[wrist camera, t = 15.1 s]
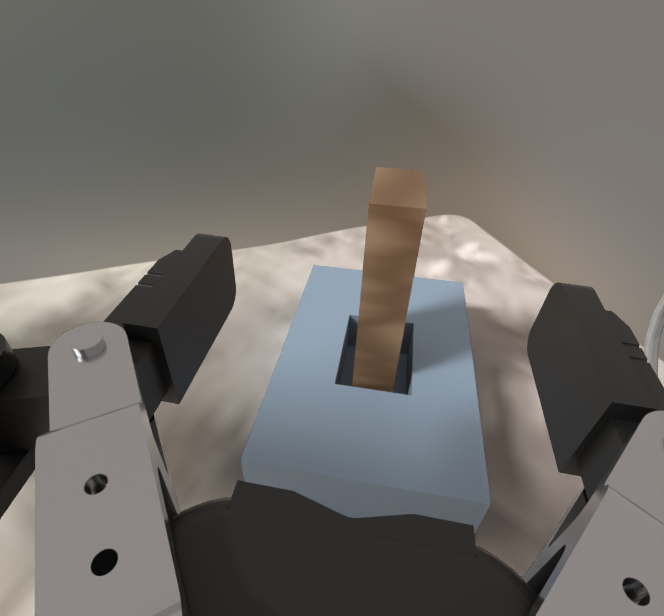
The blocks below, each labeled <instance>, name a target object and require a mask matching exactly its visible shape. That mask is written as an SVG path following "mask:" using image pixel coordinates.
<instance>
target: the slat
mask: <svg viewBox="0 0 664 616" xmlns="http://www.w3.org/2000/svg"><path fill="white" fill-rule="evenodd" d="M425 213H426V191H425V172H424V171H417V170H406V169H394V168H382V167H376V172H375V177H374V181H373V186H372V191H371V196H370V201H369V208H368V219H367V230H366V241H365V251H364V262H363V273H362V284H361V295H360V306H359V317H358V328H357V339H356V349H355V360H354V371H353V382H352V387H359V388H365V389H372V390H378V391H385V392H393V387H394V382H395V376H396V371H397V365H398V360H399V354H400V349H401V344H402V338H403V333H404V327H405V322H406V316H407V311H408V306H409V300H410V295H411V289H412V284H413V278H414V273H415V267H416V262H417V257H418V251H419V246H420V240H421V235H422V229H423V224H424V219H425Z"/></svg>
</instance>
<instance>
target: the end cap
mask: <svg viewBox="0 0 664 616" xmlns="http://www.w3.org/2000/svg"><path fill="white" fill-rule="evenodd" d="M362 273H363V271H360V270H352V269H344V268H335V267H327V266H319V265H314V266H313V268H312V271H311V274H310V276H309V279H308V282H307V284H306V287H305V290H304V292H303V295H302V298H301V300H300V303H299V306H298V308H297V311H296V314H295V316H294V319H293V322H292V324H291V327H290V330H289V332H288V335H287V338H286V340H285V343H284V346H283V348H282V351H281V354H280V356H279V359H278V362H277V364H276V367H275V370H274V372H273V375H272V377H271V380H270V383H269V385H268V388H267V391H266V393H265V396H264V399H263V401H262V404H261V407H260V409H259V412H258V415H257V417H256V420H255V423H254V425H253V428H252V431H251V433H250V436H249V439H248V441H247V444H246V447H245V449H244V452H243V455H242V457H241V460H240V461H241V466H242V471H243V477H244V482H250V483H255V484H260V485H265V486H271V487H276V488H281V489H286V490H292V491H295V492H297V493H299V494H301V495H303V496H305V497H307V498H309V499H311V500H313V501H315V502H317V503H320V504H322V505H324V506H326V507H328V508H330V509H332V510H334V511H336V512H338V513H340V514H342V515H344V516H347V517H351V518H363V517H377V516H390V515H403V514H417V515H422V516H428V517H433V518H438V519H443V520H449V521H454V522H459V523H464V524H470V525H474V535H475V533H476V531H477V529H478V527H479V525H480V524H481V522H482V520H483V518H484V516H485V514H486V512H487V511H488V509H489V507H490V505H491V501H490V493H489V485H488V477H487V469H486V461H485V453H484V445H483V437H482V429H481V422H480V414H479V406H478V398H477V390H476V382H475V374H474V366H473V358H472V350H471V342H470V334H469V326H468V319H467V311H466V303H465V295H464V287H463V283H461V282H452V281H444V280H436V279H427V278H419V277H414V278H413V284H412V289H411V295H410V300H409V306H408V311H407V316H406V322H405V327H404V333H403V338H402V344H401V349H400V354H399V360H398V365H397V371H396V376H395V382H394V387H393V392H385V391H378V390H372V389H365V388H359V387H352V382H353V371H354V360H355V349H356V339H357V328H358V317H359V306H360V295H361V284H362Z"/></svg>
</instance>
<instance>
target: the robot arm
mask: <svg viewBox="0 0 664 616" xmlns="http://www.w3.org/2000/svg"><path fill="white" fill-rule="evenodd" d="M235 295H236V284H235V275H234V267H233V258H232V250H231V243H230V241H229V239H228V238H227V237H221V236H213V235H206V234H197V235H195V237H194V238H193V239H192V240H191V241H190V243H189V244H188V245H187V246H186V247H185V249H184V250H183V251H181V250H175V251H173V252H172V253H170V254H168V255H166V256H164V257H163V258H161V259H159V260H158V261H157V262H156V263H155V264H154V266H153V267H152V268H151V269H150V270H149V271H148V274H147V275H145V276H144V277H143V278H142V279H141V280H140V281H139V282H138V285H136V286H135V287H134V288H133V289H132V290H131V291H130V292H129V294H128V295H127V296H126V297H125V298H124V299H123V300H122V301H121V303H120V304H119V305H118V306H117V307H116V308H115V309H114V310H113V312H112V313H111V314H110V315H109V316H108V317H107V318H106V319H105V321H104V322H93V323H88V324H84V325H80V326H78V327H75V328H73V329H71V330H69V331H67V332H65V333H64V334H62V335H61V336H60V337H59V338H57V339H56V341H55V342H54V343H53V344H52V346H45V347H33V348H21V349H11V347H10V346H9V344H8V342H7V341H6V339H5V338H4V336H3V335H2V334H0V519H1V517H2V516H3V514H4V513H5V511H6V510H7V509H8V507H9V506H10V504H11V503H12V501H13V500H14V499H15V497H16V496H17V494H18V493H19V491H20V490H21V489H22V487H23V486H24V484H25V483H26V481H27V480H28V478H29V477H30V476H31V474H32V473H33V471H34V470H35V616H664V387H663V386H662V384H661V382H660V380H659V379H658V377H657V375H656V373H655V371H654V370H653V368H652V366H651V364H650V363H647V357H646V355H645V354H644V352H643V350H642V348H639V343H638V341H637V339H636V338H635V336H634V334H633V332H632V331H631V329H630V327H629V326H628V325H626V324H625V323H624V322H623V321H622V320H621V319H620V318H619V317H618V316H617V315H616V314H614V313H613V312H612V311H606V310H605V309H604V307H603V305H602V303H601V302H600V300H599V298H598V296H597V294H596V292H595V290H594V289H593V288H592V287H587V286H580V285H572V284H565V283H555V284H554V285H553V286H552V287H551V289H550V291H549V293H548V295H547V297H546V299H545V301H544V303H543V306H542V308H541V310H540V312H539V314H538V316H537V318H536V320H535V322H534V324H533V326H532V329H531V331H530V334H529V338H528V346H527V350H528V357H529V361H530V364H531V368H532V372H533V376H534V380H535V383H536V387H537V391H538V395H539V399H540V402H541V406H542V410H543V414H544V417H545V421H546V425H547V429H548V433H549V436H550V440H551V444H552V448H553V452H554V455H555V459H556V463H557V467H558V471H559V472H560V473H566V474H571V475H577V476H581V478H582V481H583V484H584V487H583V488H582V490H581V491H580V492H579V493H578V494H577V496H576V498H575V499H574V501H573V502H572V504H571V505H570V507H569V509H568V510H567V512H566V513H565V515H564V517H563V518H562V520H561V521H560V523H559V525H558V526H557V528H556V529H555V531H554V532H553V534H552V536H551V537H550V539H549V540H548V542H547V544H546V545H545V547H544V548H543V550H542V551H541V553H540V555H539V556H538V557H537V559H536V560H535V562H534V563H533V564H532V566H531V567H530V568H529V570H528V571H527V572H526V574H525V575H524V576H523V578H521V577H520V576H519V575H518V574H517V573H516V572H515V571H514V570H513V569H512V568H510V567H509V566H508V565H506V564H505V563H504V562H502V561H501V560H500V559H499V558H497V557H496V556H494V555H492V554H491V553H489V552H488V551H486V550H484V549H483V548H481V547H479V546H477V545H475V535H474V525H470V524H464V523H459V522H454V521H449V520H443V519H438V518H433V517H428V516H422V515H417V514H403V515H390V516H377V517H363V518H351V517H347V516H344V515H342V514H340V513H338V512H336V511H334V510H332V509H330V508H328V507H326V506H324V505H322V504H320V503H317V502H315V501H313V500H311V499H309V498H307V497H305V496H303V495H301V494H299V493H297V492H295V491H292V490H286V489H281V488H276V487H271V486H265V485H260V484H255V483H250V482H244V481H239V480H238V481H237V484H236V487H235V490H234V492H233V495H232V497H228V498H221V499H216V500H211V501H208V502H205V503H202V504H198V505H195V506H193V507H191V508H189V509H187V510H184V511H182V512H181V510H180V507H179V504H178V500H177V497H176V494H175V491H174V487H173V483H172V480H171V476H170V472H169V468H168V464H167V459H166V455H165V451H164V447H163V443H162V439H161V435H160V431H159V427H158V423H157V419H156V416H155V413H154V412H155V411H156V409H157V407H158V406H159V404H160V402H161V401H165V402H170V403H176V404H179V403H180V402H181V400H182V398H183V396H184V394H185V393H186V391H187V389H188V387H189V385H190V384H191V382H192V380H193V378H194V376H195V375H196V373H197V371H198V369H199V367H200V366H201V364H202V362H203V360H204V358H205V357H206V355H207V353H208V351H209V349H210V348H211V346H212V344H213V342H214V340H215V338H216V337H217V335H218V333H219V331H220V329H221V328H222V326H223V324H224V322H225V320H226V319H227V317H228V315H229V313H230V311H231V310H232V307H233V305H234V301H235Z"/></svg>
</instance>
